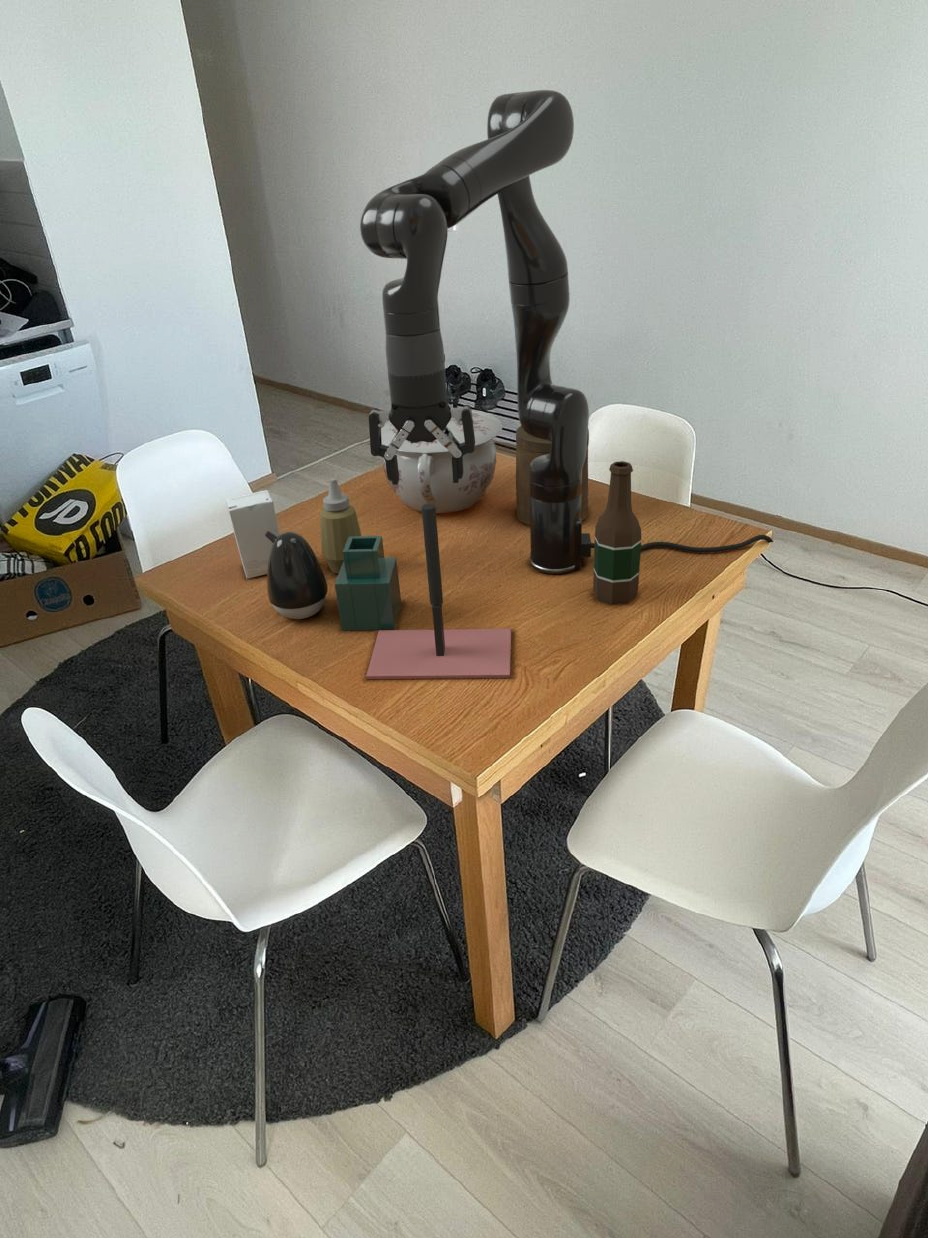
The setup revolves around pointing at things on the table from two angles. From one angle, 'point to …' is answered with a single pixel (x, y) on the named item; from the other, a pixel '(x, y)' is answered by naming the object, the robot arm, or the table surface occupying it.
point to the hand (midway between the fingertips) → (426, 481)
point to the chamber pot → (445, 467)
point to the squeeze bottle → (337, 525)
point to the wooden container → (525, 454)
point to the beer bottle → (617, 542)
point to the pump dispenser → (294, 577)
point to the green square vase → (367, 586)
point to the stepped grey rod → (434, 573)
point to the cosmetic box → (253, 529)
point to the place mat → (462, 656)
